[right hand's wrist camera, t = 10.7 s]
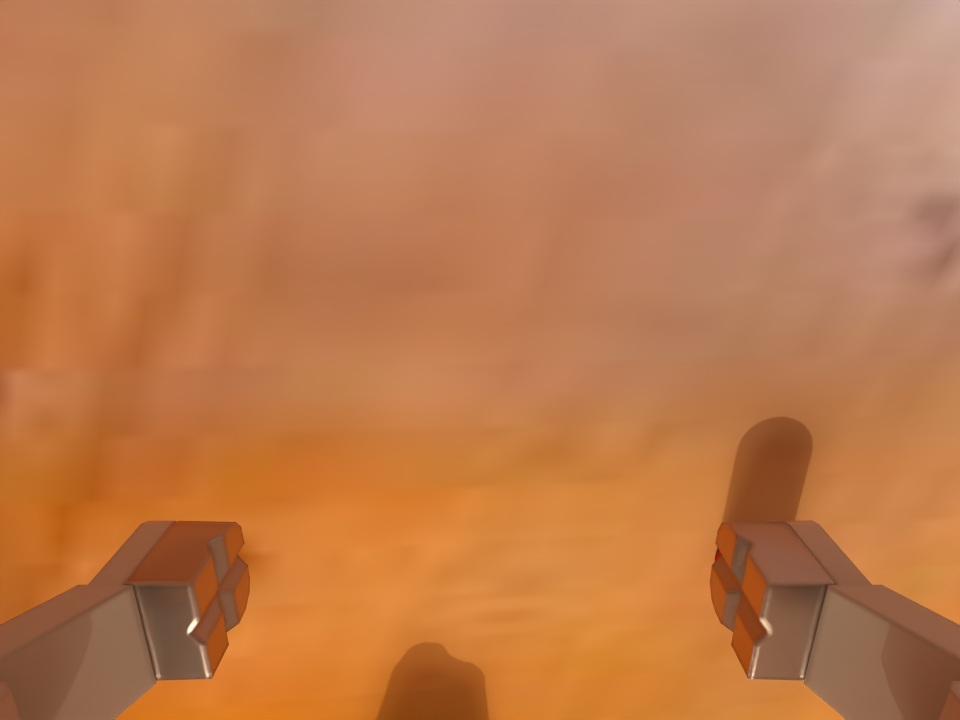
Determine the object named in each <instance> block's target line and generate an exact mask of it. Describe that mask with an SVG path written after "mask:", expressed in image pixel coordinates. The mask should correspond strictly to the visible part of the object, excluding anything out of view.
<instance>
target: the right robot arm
mask: <svg viewBox="0 0 960 720" xmlns="http://www.w3.org/2000/svg"><path fill="white" fill-rule="evenodd" d="M243 545H244V539H243V534H242V529H241V526H240V525H238V524H237V523H236V522H207V521H178V522H177V521H148V522H145V523H142V524H141V525H140V526H139V527H138V528H137V529H136V530H135V532H134V533H133V534H132V535H131V536H130V537H129V538H128V540H127V541H126V542H125V543H124V544H123V545H122V547H121V548H120V549H119V550H118V551H117V552H116V553H115V555H114V556H113V557H112V558H111V559H110V560H109V561H108V563H107V564H106V565H105V566H104V567H103V568H102V569H101V571H100V572H99V573H98V574H97V575H96V576H95V577H94V579H93V580H92V581H91V582H90V583H89V584H88V585H77V586H75V587H73V588H71V589H69V590H67V591H66V592H64V593H62V594H60V595H58V596H56V597H54V598H52V599H50V600H48V601H46V602H44V603H42V604H40V605H38V606H36V607H34V608H32V609H31V610H29V611H27V612H25V613H23V614H21V615H19V616H17V617H15V618H13V619H11V620H9V621H7V622H5V623H3V624H1V625H0V720H114V719H115V718H116V717H118V716H119V715H120V714H121V713H122V712H123V711H125V710H126V709H127V708H128V707H129V706H130V705H132V704H133V703H134V702H135V701H136V700H137V699H139V698H140V697H141V696H142V695H143V694H145V693H146V692H147V691H148V690H149V689H150V688H152V687H153V686H154V685H155V684H156V680H187V679H212V677H213V675H214V673H215V671H216V669H217V667H218V665H219V663H220V661H221V659H222V657H223V655H224V653H225V651H226V649H227V647H228V645H229V643H228V638H227V632H228V631H229V630H230V629H232V628H233V627H235V626H236V625H237V624H239V623H240V620H241V618H242V616H243V614H244V612H245V610H246V605H247V601H248V596H249V592H250V575H249V569H248V565H247V564H246V563H245V562H244V561H243V560H242V559H241V558H240V557H239V556H238V554H239V552H240V550H241V548H242V547H243ZM716 545H717V547H718V548H719V550H720V552H721V554H722V556H721V557H720V558H719V559H718V560H717V561H716V562H715V563H714V564H713V565H712V569H711V577H710V588H711V599H712V602H713V606H714V609H715V612H716V614H717V616H718V618H719V620H720V623H721V624H723V625H724V626H725V627H727V628H728V629H730V630H731V631H732V632H733V638H732V643H731V645H732V647H733V649H734V651H735V653H736V655H737V657H738V659H739V661H740V663H741V665H742V667H743V669H744V671H745V673H746V675H747V677H748V679H772V680H804V684H805V685H806V686H808V687H809V688H810V689H811V690H812V691H813V692H815V693H816V694H817V695H818V696H819V697H820V698H822V699H823V700H824V701H825V702H826V703H827V704H829V705H830V706H831V707H832V708H833V709H834V710H836V711H837V712H838V713H839V714H840V715H841V716H843V717H844V718H845V719H846V720H960V625H958V624H956V623H954V622H953V621H951V620H949V619H947V618H945V617H943V616H941V615H939V614H937V613H935V612H933V611H931V610H929V609H927V608H925V607H924V606H922V605H920V604H918V603H916V602H914V601H912V600H910V599H908V598H906V597H904V596H902V595H900V594H898V593H896V592H894V591H893V590H891V589H889V588H887V587H885V586H883V585H872V584H871V583H870V582H869V581H868V580H867V579H866V577H865V576H864V575H863V574H862V573H861V572H860V571H859V569H858V568H857V567H856V566H855V565H854V564H853V563H852V561H851V560H850V559H849V558H848V557H847V556H846V555H845V553H844V552H843V551H842V550H841V549H840V548H839V547H838V545H837V544H836V543H835V542H834V541H833V540H832V539H831V537H830V536H829V535H828V534H827V533H826V532H825V531H824V529H823V528H822V527H821V526H820V525H819V524H818V523H816V522H814V521H812V520H808V521H781V522H748V523H721V525H720V527H719V529H718V532H717V538H716Z"/></svg>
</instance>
